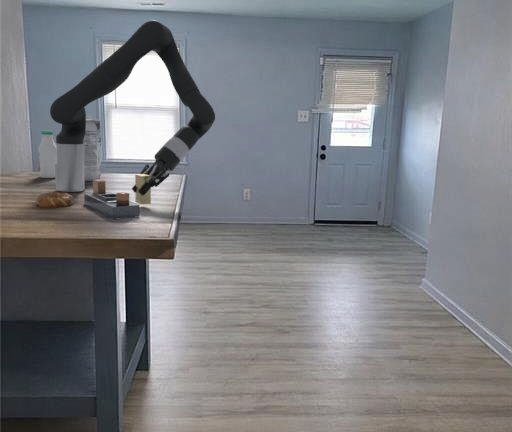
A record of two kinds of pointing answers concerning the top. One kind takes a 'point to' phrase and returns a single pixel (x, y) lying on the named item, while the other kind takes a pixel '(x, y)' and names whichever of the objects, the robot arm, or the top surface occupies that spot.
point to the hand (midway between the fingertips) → (137, 192)
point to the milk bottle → (47, 155)
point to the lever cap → (139, 182)
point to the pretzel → (54, 199)
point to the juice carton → (92, 150)
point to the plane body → (110, 202)
